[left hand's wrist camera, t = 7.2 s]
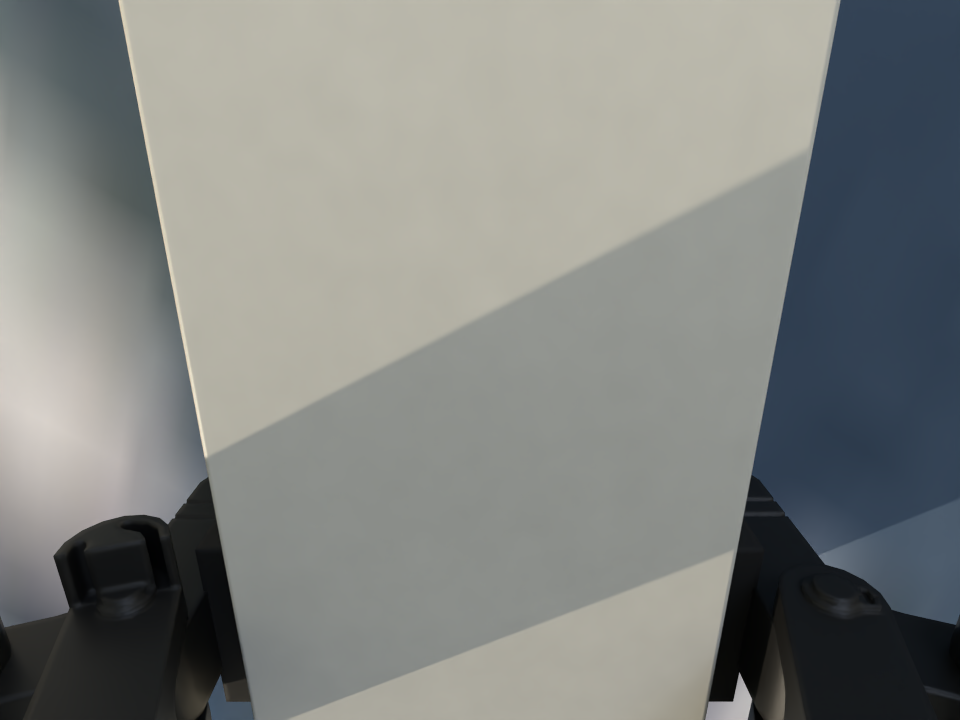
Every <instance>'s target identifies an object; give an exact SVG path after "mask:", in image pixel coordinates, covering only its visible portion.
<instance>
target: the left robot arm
mask: <svg viewBox="0 0 960 720" xmlns="http://www.w3.org/2000/svg"><path fill="white" fill-rule="evenodd" d="M54 560H55V563H56V566H57V569H58V572H59V576H60V579H61V582H62V585H63V588H64V591H65V595H66V598H67V601H68V604H69V607H70V609H69V611H68V613H65V614H62V615H58V616H54V617H50V618H45V619H41V620H36V621H32V622H28V623H23V624H19V625H14V626H10V627H5V628H4V625H3V622H2V620H1V617H0V720H212V719H211V712H210V708H209V703H208V700H209V698H210V696H211V694H212V691H213V689H214V687H215V685H216V683H217V681H218V679H219V676H220V674H221V677H222V682H223V687H224V692H225V696H226V701H227V702H251V700H250V695H249V689H248V684H247V679H246V673H245V668H244V663H243V657H242V652H241V647H240V642H239V636H238V631H237V626H236V620H235V615H234V610H233V604H232V599H231V594H230V588H229V583H228V578H227V573H226V567H225V562H224V557H223V551H222V546H221V541H220V535H219V530H218V525H217V520H216V514H215V509H214V504H213V498H212V493H211V488H210V482H209V477H208V478H206V479H205V480H203V481H202V482H200V484H199V485H198V486H197V488H196V489H195V490H194V491H193V493H192V494H191V495H190V497H189V498H188V499H187V503H186V504H183V506H182V507H181V508H180V510H179V511H178V512H177V513H176V515H175V519H172V520H171V521H170V523H169V524H166V523H165V522H164V521H163V520H161V519H160V518H157V517H152V516H147V515H133V516H123V517H119V518H115V519H111V520H107V521H103V522H101V523H98V524H96V525H94V526H92V527H89V528H87V529H85V530H82V531H81V532H79V533H78V534H76V535H75V536H74V537H72V538H71V539H69V540H68V541H66V542H65V543H64V544H63V545H62V546H61V548H60V549H59V550H58V551H57V552H56V554H55V555H54ZM739 672H740V674H741V676H742V678H743V681H744V683H745V685H746V687H747V689H748V691H749V693H750V695H751V698H752V703H751V708H750V712H749V716H748V720H960V616H959V618H958V621H957V624H956V625H953V624H949V623H944V622H940V621H935V620H931V619H926V618H922V617H917V616H913V615H908V614H904V613H901V612H897V611H894V610H891V608H890V606H889V605H888V603H887V602H886V600H885V599H884V598H883V596H882V595H881V593H880V592H878V591H877V590H876V589H874V588H873V587H872V586H871V585H869V584H868V583H867V582H866V581H864V580H863V579H861V578H859V577H857V576H855V575H853V574H851V573H849V572H847V571H845V570H842V569H838V568H835V567H831V566H828V565H825V564H824V563H823V561H822V560H821V559H820V558H819V556H818V555H817V554H816V552H815V551H814V550H813V549H812V547H811V546H810V545H809V543H808V542H807V541H806V540H805V538H804V537H803V536H802V534H801V533H800V532H799V531H798V529H797V528H796V527H795V525H794V524H793V523H792V522H791V520H790V519H789V518H788V517H785V513H784V511H783V510H782V509H781V507H780V506H779V505H778V503H777V502H775V501H773V497H772V496H771V494H770V493H769V492H768V491H767V489H766V488H765V487H764V485H763V484H762V483H761V482H760V480H758V479H757V478H755V477H754V476H752V475H751V479H750V484H749V489H748V495H747V500H746V505H745V511H744V516H743V521H742V526H741V532H740V537H739V542H738V548H737V553H736V558H735V564H734V569H733V574H732V580H731V585H730V590H729V596H728V601H727V606H726V612H725V617H724V622H723V627H722V633H721V638H720V643H719V649H718V654H717V659H716V665H715V670H714V675H713V681H712V686H711V691H710V697H709V701H731V702H733V699H734V694H735V690H736V685H737V680H738V675H739Z"/></svg>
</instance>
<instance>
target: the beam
mask: <svg viewBox="0 0 960 720" xmlns="http://www.w3.org/2000/svg"><path fill="white" fill-rule="evenodd" d="M119 5H120V10H121V15H122V21H123V26H124V31H125V37H126V42H127V47H128V53H129V58H130V63H131V69H132V74H133V79H134V84H135V90H136V95H137V100H138V106H139V111H140V116H141V122H142V127H143V132H144V138H145V143H146V148H147V153H148V159H149V164H150V169H151V175H152V180H153V185H154V191H155V196H156V201H157V206H158V212H159V217H160V222H161V228H162V233H163V238H164V244H165V249H166V254H167V260H168V265H169V270H170V275H171V281H172V286H173V291H174V297H175V302H176V307H177V313H178V318H179V323H180V329H181V334H182V339H183V344H184V350H185V355H186V360H187V366H188V371H189V376H190V382H191V387H192V392H193V397H194V403H195V408H196V413H197V419H198V424H199V429H200V435H201V440H202V445H203V451H204V456H205V461H206V466H207V472H208V477H209V482H210V488H211V493H212V498H213V504H214V509H215V514H216V520H217V525H218V530H219V535H220V541H221V546H222V551H223V557H224V562H225V567H226V573H227V578H228V583H229V588H230V594H231V599H232V604H233V610H234V615H235V620H236V626H237V631H238V636H239V642H240V647H241V652H242V657H243V663H244V668H245V673H246V679H247V684H248V689H249V695H250V700H251V705H252V711H253V716H254V720H705V718H706V713H707V707H708V702H709V697H710V691H711V686H712V681H713V675H714V670H715V665H716V659H717V654H718V649H719V643H720V638H721V633H722V627H723V622H724V617H725V612H726V606H727V601H728V596H729V590H730V585H731V580H732V574H733V569H734V564H735V558H736V553H737V548H738V542H739V537H740V532H741V526H742V521H743V516H744V511H745V505H746V500H747V495H748V489H749V484H750V479H751V473H752V468H753V463H754V457H755V452H756V447H757V441H758V436H759V431H760V425H761V420H762V415H763V410H764V404H765V399H766V394H767V388H768V383H769V378H770V372H771V367H772V362H773V356H774V351H775V346H776V340H777V335H778V330H779V324H780V319H781V314H782V309H783V303H784V298H785V293H786V287H787V282H788V277H789V271H790V266H791V261H792V255H793V250H794V245H795V239H796V234H797V229H798V223H799V218H800V213H801V208H802V202H803V197H804V192H805V186H806V181H807V176H808V170H809V165H810V160H811V154H812V149H813V144H814V138H815V133H816V128H817V123H818V117H819V112H820V107H821V101H822V96H823V91H824V85H825V80H826V75H827V69H828V64H829V59H830V53H831V48H832V43H833V37H834V32H835V27H836V22H837V16H838V11H839V6H840V0H119Z"/></svg>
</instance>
